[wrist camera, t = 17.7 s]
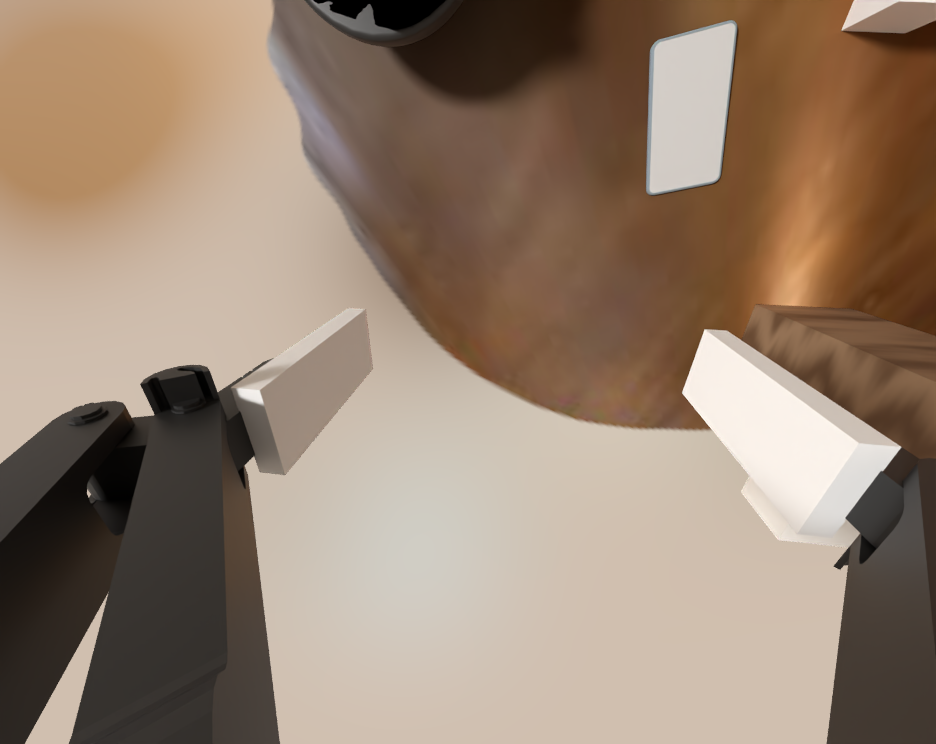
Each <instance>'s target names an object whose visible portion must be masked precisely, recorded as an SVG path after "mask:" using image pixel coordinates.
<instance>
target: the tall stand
mask: <svg viewBox="0 0 936 744" xmlns="http://www.w3.org/2000/svg"><path fill="white" fill-rule="evenodd" d="M742 341H743V342H745V343H746V344H748V345H749V346H751V347H752V348H754V349H755V350H757V351H758V352H760V353H761V354H763V355H764V356H766V357H767V358H769V359H770V360H772V361H773V362H775V363H776V364H778V365H779V366H781V367H782V368H784V369H785V370H787V371H788V372H790V373H791V374H793V375H794V376H796V377H797V378H799V379H800V380H802V381H803V382H805V383H806V384H808V385H809V386H811V387H812V388H814V389H815V390H817V391H818V392H820V393H821V394H823V395H824V396H826V397H827V398H829V399H830V400H832V401H833V402H835V403H836V404H838V405H839V406H841V407H842V408H844V409H845V410H847V411H848V412H850V413H851V414H853V415H854V416H856V417H857V418H859V419H860V420H862V421H863V422H865V423H866V424H868V425H869V426H871V427H872V428H874V429H875V430H877V431H878V432H880V433H881V434H883V435H884V436H886V437H887V438H889V439H890V440H892V441H893V442H895V443H896V444H898V445H899V446H901V447H902V448H904V449H905V450H907V451H908V452H910V453H911V454H913V455H914V456H916V457H917V458H919V459H925V458H934V459H936V336H934V335H931V334H928V333H925V332H922V331H919V330H916V329H912V328H909V327H906V326H903V325H900V324H897V323H894V322H891V321H888V320H885V319H882V318H878V317H875V316H872V315H869V314H866V313H863V312H860V311H857V310H854V309H843V308H823V307H802V306H781V305H760V304H756V305H755V307H754V310H753V312H752V315H751V317H750V320H749V322H748V325H747V327H746V330H745V332H744V335H743V337H742Z"/></svg>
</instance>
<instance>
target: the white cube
mask: <svg viewBox="0 0 936 744" xmlns="http://www.w3.org/2000/svg"><path fill="white" fill-rule="evenodd" d="M935 20H936V0H854V2H853V4H852V6H851V9H850V11H849V14H848V16H847V18H846V21H845V23H844V26H843V28H842V30H841V31H859V32H883V33H907V32H909V31H912V30H914V29H917V28H919V27H921V26H924V25H926V24H928V23H931V22H933V21H935Z"/></svg>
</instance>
